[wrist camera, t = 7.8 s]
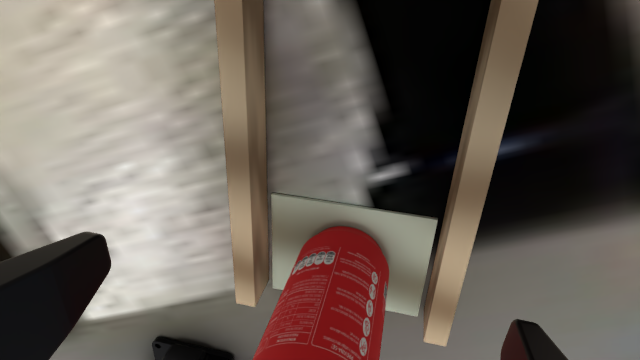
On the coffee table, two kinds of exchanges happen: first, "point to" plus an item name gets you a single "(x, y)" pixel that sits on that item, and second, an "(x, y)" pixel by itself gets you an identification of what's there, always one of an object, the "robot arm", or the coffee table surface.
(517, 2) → the bay
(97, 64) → the coffee table surface
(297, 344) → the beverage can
